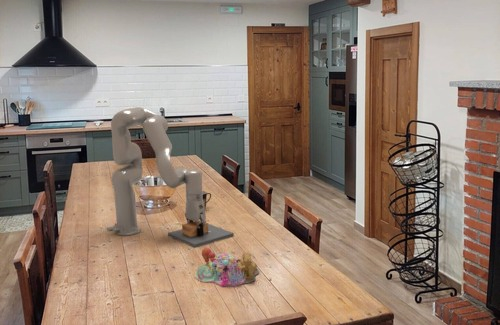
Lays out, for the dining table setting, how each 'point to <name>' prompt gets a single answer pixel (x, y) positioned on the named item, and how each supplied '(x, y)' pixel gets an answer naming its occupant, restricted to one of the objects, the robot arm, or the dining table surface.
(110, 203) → the dining table surface
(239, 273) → the candy landscape model
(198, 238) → the board
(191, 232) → the block
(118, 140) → the robot arm
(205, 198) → the coffee mug
